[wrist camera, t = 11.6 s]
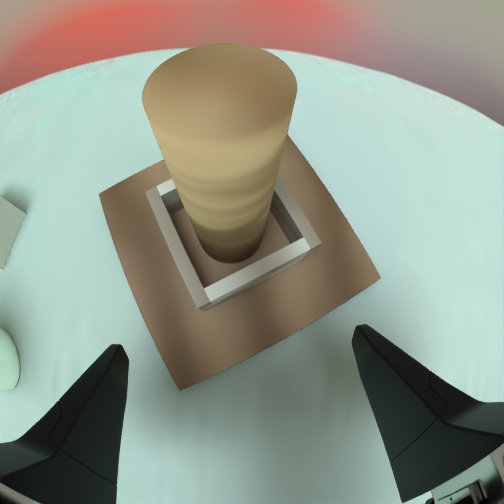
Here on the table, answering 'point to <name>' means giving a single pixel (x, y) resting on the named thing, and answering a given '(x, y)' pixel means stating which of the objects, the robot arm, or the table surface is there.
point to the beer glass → (8, 362)
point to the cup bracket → (233, 269)
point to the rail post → (223, 139)
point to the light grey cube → (8, 228)
